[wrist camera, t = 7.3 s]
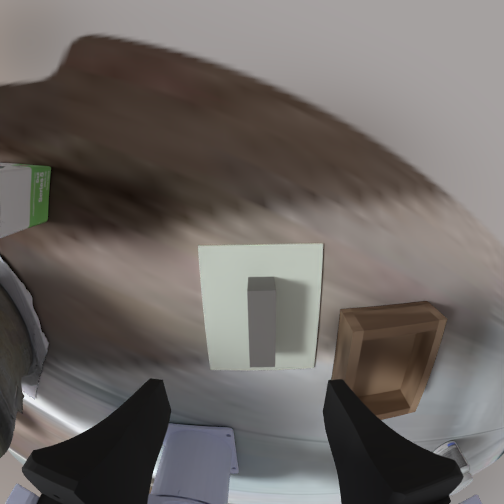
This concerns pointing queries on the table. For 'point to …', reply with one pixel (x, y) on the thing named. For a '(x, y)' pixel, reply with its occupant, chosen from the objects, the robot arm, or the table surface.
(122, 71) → the table surface
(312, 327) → the lid
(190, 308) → the table surface
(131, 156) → the table surface
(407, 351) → the box
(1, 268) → the decorative urn
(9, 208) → the ink box
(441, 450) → the pill bottle
